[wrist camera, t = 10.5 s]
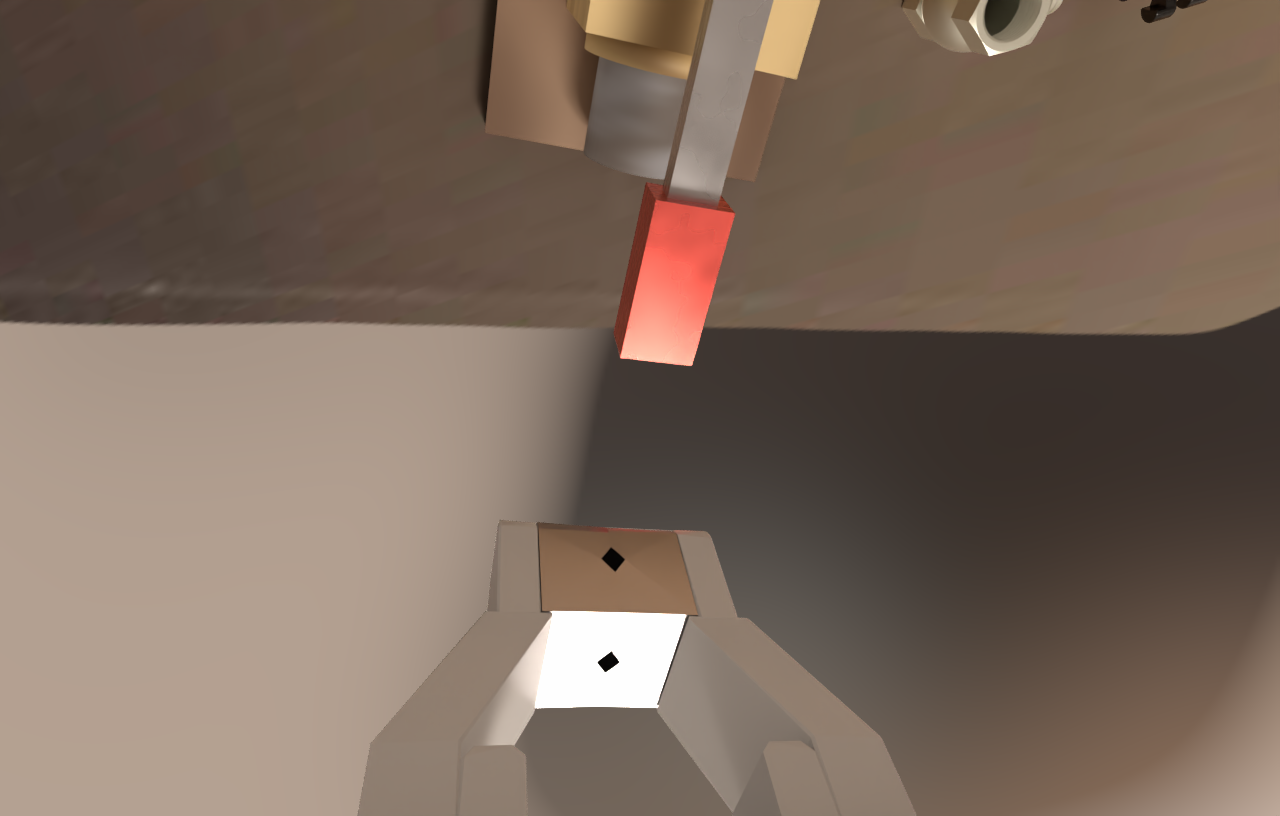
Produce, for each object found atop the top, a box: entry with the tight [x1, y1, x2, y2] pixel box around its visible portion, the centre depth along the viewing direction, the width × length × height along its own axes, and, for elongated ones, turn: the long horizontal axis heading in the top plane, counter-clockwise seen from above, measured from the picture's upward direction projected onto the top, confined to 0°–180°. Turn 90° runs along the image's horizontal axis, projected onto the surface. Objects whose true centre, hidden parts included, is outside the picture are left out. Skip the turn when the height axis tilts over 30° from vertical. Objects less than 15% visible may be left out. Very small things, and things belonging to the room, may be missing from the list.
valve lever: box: [614, 0, 773, 365], centre depth 24 cm, size 16×3×2 cm, turn 168°
